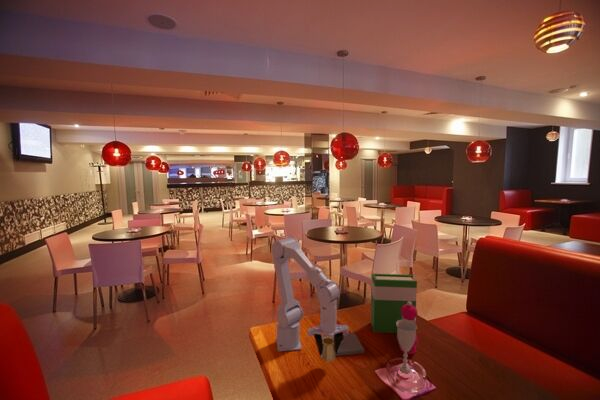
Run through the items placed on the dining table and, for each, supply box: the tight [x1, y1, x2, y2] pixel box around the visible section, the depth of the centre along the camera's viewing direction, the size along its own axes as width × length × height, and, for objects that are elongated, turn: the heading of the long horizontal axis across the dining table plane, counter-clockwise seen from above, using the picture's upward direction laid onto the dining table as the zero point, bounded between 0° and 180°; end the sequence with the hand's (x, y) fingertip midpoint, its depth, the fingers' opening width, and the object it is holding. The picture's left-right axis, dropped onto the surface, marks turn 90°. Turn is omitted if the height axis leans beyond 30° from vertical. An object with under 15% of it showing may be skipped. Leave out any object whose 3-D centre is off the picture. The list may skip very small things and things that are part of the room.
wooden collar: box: [320, 337, 336, 362], centre depth 99 cm, size 5×5×6 cm
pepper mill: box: [398, 301, 419, 355], centre depth 109 cm, size 7×7×20 cm
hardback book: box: [370, 273, 418, 334], centre depth 123 cm, size 18×7×24 cm, turn 85°
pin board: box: [321, 332, 365, 357], centre depth 111 cm, size 16×11×6 cm
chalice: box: [396, 319, 418, 374], centre depth 96 cm, size 7×7×18 cm
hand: (327, 352), depth 99 cm, fingers closed on wooden collar, 5 cm apart
